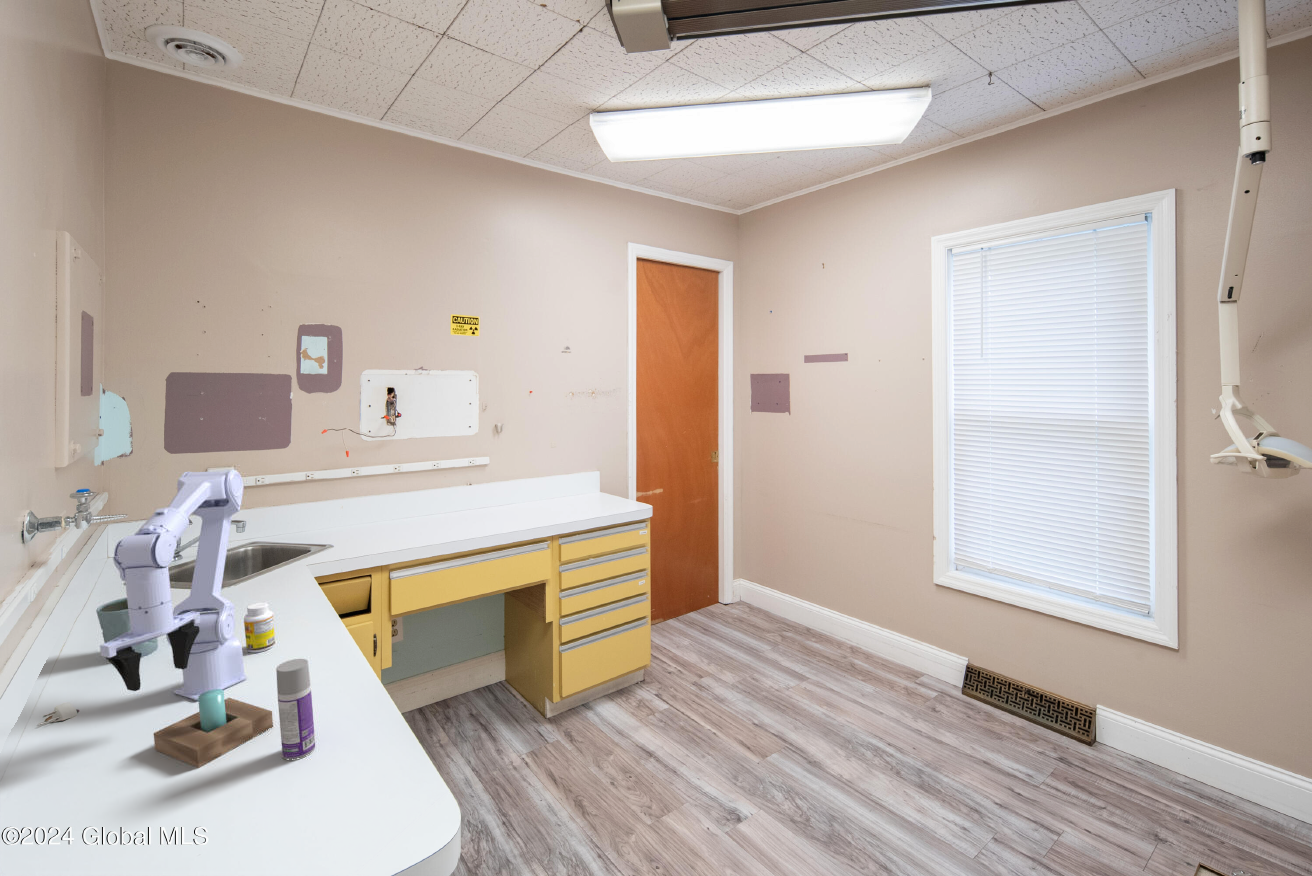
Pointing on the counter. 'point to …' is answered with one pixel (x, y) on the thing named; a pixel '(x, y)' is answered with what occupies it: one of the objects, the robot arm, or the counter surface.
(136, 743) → the counter surface
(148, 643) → the green plant pot
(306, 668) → the container
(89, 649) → the counter surface
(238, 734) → the socket block
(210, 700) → the peg
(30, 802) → the counter surface
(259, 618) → the supplement bottle
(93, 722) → the counter surface
